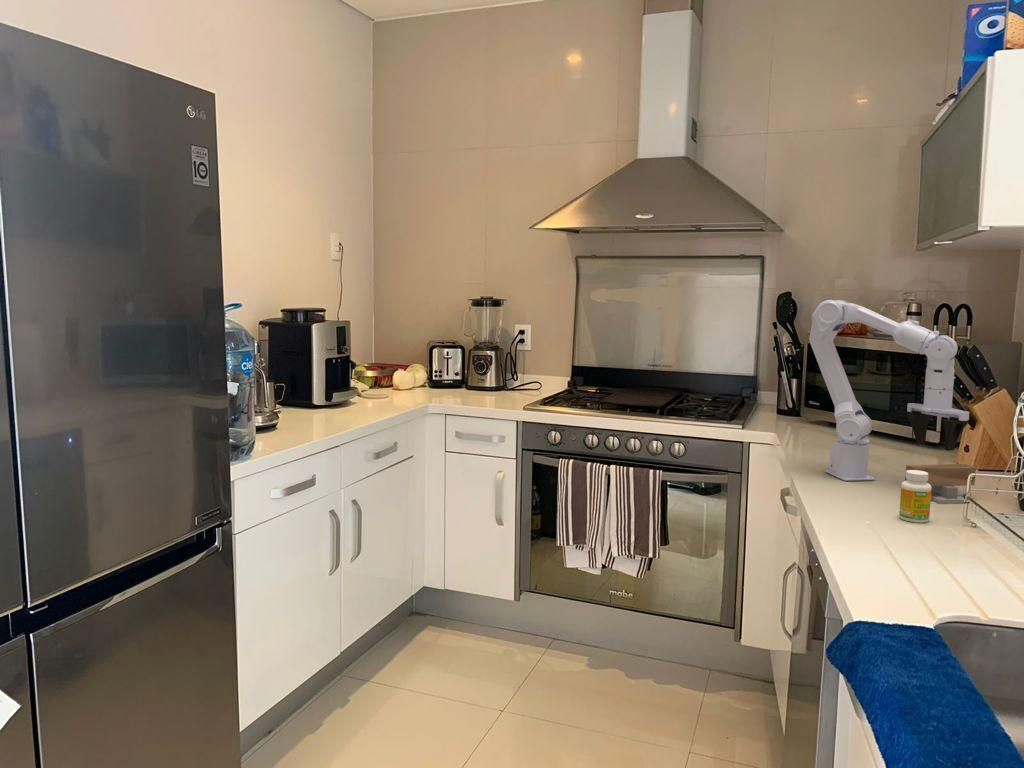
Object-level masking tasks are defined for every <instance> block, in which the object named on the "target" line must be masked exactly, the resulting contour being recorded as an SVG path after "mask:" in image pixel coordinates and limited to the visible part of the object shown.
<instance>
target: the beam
mask: <svg viewBox="0 0 1024 768" xmlns="http://www.w3.org/2000/svg"><path fill="white" fill-rule="evenodd" d="M907 470H919V471H924V472H927V473H928V481H927V483H928V484H930V485H931V486H954V487H961V486H962V487H963V486H966V487H967V479H968V475H969V474H970V473H976V472H977V468H976V467H975V466H973V465H969V464H966V463H962V464H961V463H960V464H958V463H957V464H956V463H954V464H953V463H952V464H949V463H947V464H946V463H945V464H906V465H905V472H906V471H907ZM904 474H905V476H904V478H905V480H904V481H906V480H907V479H906V473H904ZM975 485H976V475H975V476H974V477H972V480H971V486H975ZM971 486H970V487H971Z"/></svg>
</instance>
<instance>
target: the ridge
mask: <svg viewBox="0 0 1024 768" xmlns="http://www.w3.org/2000/svg"><path fill="white" fill-rule="evenodd" d="M958 490H959V487H958V486H931V501H932V502H934V503H937V504H938V505H940V504H942V505H946V504H952V505H953V504H965V503H964V498H963V497H964V496H963V495H960V494H958Z"/></svg>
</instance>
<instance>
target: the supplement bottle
mask: <svg viewBox="0 0 1024 768" xmlns="http://www.w3.org/2000/svg"><path fill="white" fill-rule="evenodd" d="M905 474H906V479H907V480H906V481H905V480H904V481H902V482H901V486H900V499H899V502H900V503H899V511H898V512H899V514H898V516H899V519H902V521H906V522H911V523H917V524H922V523H923V524H924V523H927V522H929V521H930V514H931V503H932V502H931V501H932V500H931V485H930V484H928V483H927V481H928V473H927V472H924V471H919V470H907V471H906V470H905Z"/></svg>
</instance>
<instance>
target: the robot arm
mask: <svg viewBox="0 0 1024 768" xmlns="http://www.w3.org/2000/svg"><path fill="white" fill-rule="evenodd" d="M811 318H812V322H811V326H810V327H811V328H810V332H809V343H810V346H811V349H812V352H813V354H814V356H815V359H816V362H817V363H818V367H819V370H820V373H821V375H822V378H823V380H824V383H825V385H826V388H827V390H828V392H829V395H830V399H831V400H832V403H833V405H834V418H835V422H836V427H835V431H836V435H837V439H835V440H834V441H833V442H832V443H831V446H830V449H829V464H828V465H829V466H828V467H829V468H828V469H825V473H827V474H829V475H832V476H834V477H836V478H838V479H840V480H842V481H845V482H846V481H847V482H848V481H850V482H851V481H875V480H876V478H875V477H873V476H871V475H869V474H868V473H869V469H868V468H869V458H870V442H871V440H869V437H868V435H870V433H871V432H872V430H873V422H872V419H871V418H870V417H869V416H868V415H867V414H866V413H865V412H864V410H863V407H862V406H861V404H860V403H859V402H858V401H857V400H856V396H855V394H854V391H853V389H852V386H851V384H850V382H849V379H848V376H847V374H846V371H845V368H844V366H843V363H842V361H841V358H840V356H839V353H838V351H837V348H836V346H835V343H834V339H835V337H836V336H837V335H838V333H839V331H840V330H841V328H842V327H844V326H845V325H846V324H848V323H849V324H851V323H860V324H862V325H866V326H868V327H870V328H873V329H875V330H878V331H880V332H883V333H885V334H887V335H890V336H892V338H893V341H894V343H895V344H897V345H900V346H901V347H904V348H907V349H908V350H911V351H914V352H915V353H917V354H920V355H924V354H925V356H926V358H927V363H926V368H925V381H924V395H923V403H914V402H912V403H910V402H908V403H907V405H906V406H907V409H906V410H907V411H906V412H908V414H906V418H907V420H908V421H909V423H910V425H911V427H912V431H913V435H914V441H915V444H916V445H924V444H926V439H927V430H928V425H929V423H930V419H931V416H936V417H942V418H946V419H942V425H943V430H944V451H949V452H950V451H954V450H955V447H956V445H957V442H958V440H959V437H960V436H961V434H962V432H963V430H964V429H965V428H966V426H967V425H968V423H969V420H970V411H967V410H961V409H957V408H955V407H954V408H953V394H954V383H955V368H954V367H955V365H956V364H955V363H956V362H955V358H954V357H955V356H956V355H957V353H958V351H959V350H958V343H957V342H956V340H954V339H953V338H951V336H949V335H945V334H942V335H940V331H939V330H934V331H933V330H930V329H928V328H926V327H923V326H921V325H919V324H920V322H919V321H916V320H912V321H909V320H904V321H903V322H897V321H895V320H893V319H890V318H889V317H886V316H884V315H881V314H880V313H878V312H875V311H873V310H872V309H869V308H866V307H864V306H862V305H860V304H856V303H853V302H848V301H846V300H844V299H835V300H833V299H827V300H824V301H821V302H820V303H819V304H818V305H817V307H816V308H815V310H814V312H813V313H812V315H811Z"/></svg>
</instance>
